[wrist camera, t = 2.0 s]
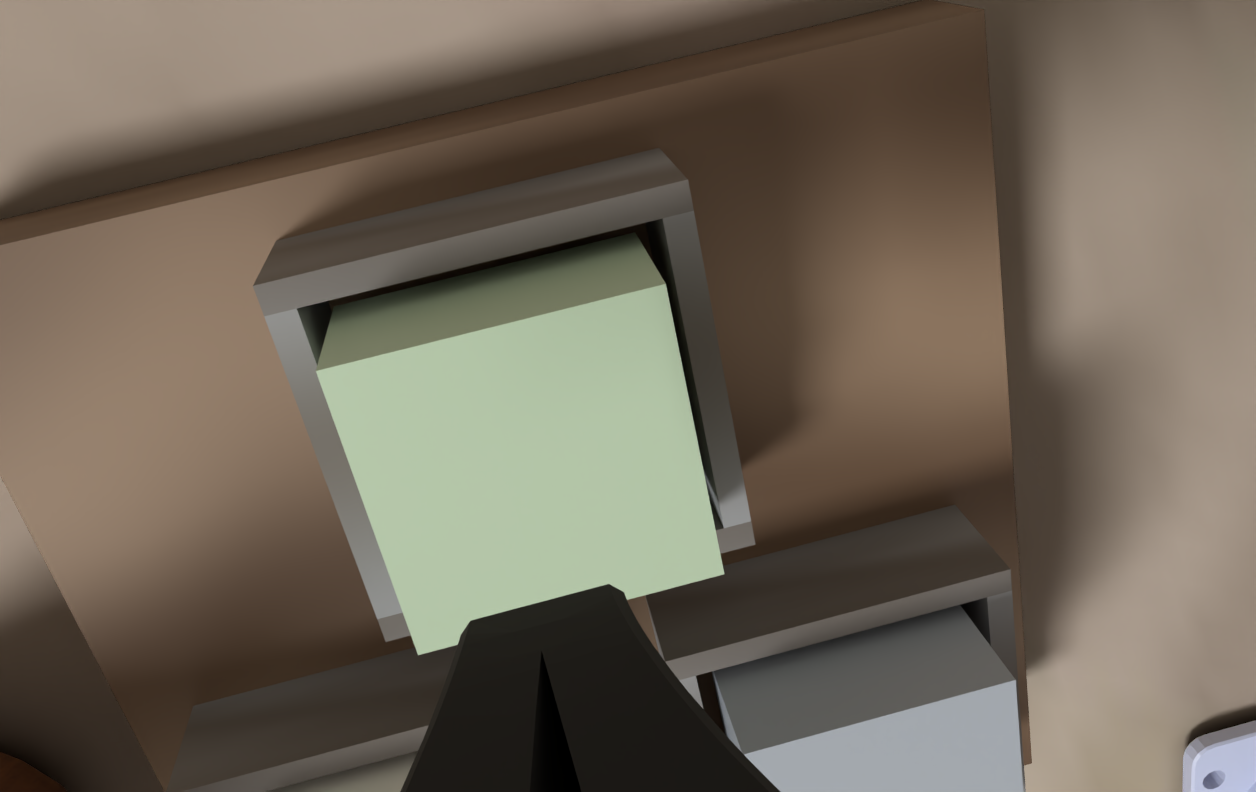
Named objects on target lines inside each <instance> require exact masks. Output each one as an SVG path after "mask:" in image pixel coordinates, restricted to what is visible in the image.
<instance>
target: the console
mask: <svg viewBox="0 0 1256 792" xmlns="http://www.w3.org/2000/svg"><path fill="white" fill-rule="evenodd" d="M634 232H635V233H636V235H637V236H638V238H639V240H640V241H641V243H642V245H643V246H644V248H645V250H646V251H647V253H648V255H649V256H650V258H651V260H652V262H653V263H654V265H655V267H656V268H657V270H658V272H659V273H660V275H661V277H662V278H663V280H664V282H665V283H666V287H667V292H668V297H669V302H670V307H671V312H672V317H673V322H674V327H675V332H676V337H677V342H678V347H679V352H680V357H681V362H682V367H683V372H684V376H685V381H686V386H687V391H688V396H689V401H690V406H691V411H692V416H693V421H694V426H695V431H696V436H697V441H698V446H699V451H700V456H701V461H702V466H703V470H704V475H705V480H706V485H707V490H708V495H709V500H710V505H711V510H712V515H713V520H714V525H715V530H716V535H717V540H718V545H719V550H720V555H721V559H722V564H723V569H724V574H723V575H720V576H716V577H712V578H708V579H704V580H701V581H697V582H693V583H689V584H686V585H682V586H678V587H674V588H670V589H667V590H663V591H659V592H655V593H652V594H648V595H644V596H640V597H636V598H633V599H629V600H627V601H628V604H629V606H630V608H631V610H632V612H633V613H634V615H635V617H636V619H637V621H638V622H639V624H640V626H641V627H642V629H643V631H644V632H645V634H646V635H647V637H648V638H649V640H650V641H651V643H652V644H653V646H654V647H655V649H656V650H657V651H658V653H659V654H660V655H661V657H662V658H663V660H664V661H665V662H666V664H667V665H668V666H669V668H670V669H671V671H672V672H673V673H674V674H675V676H676V677H677V678H678V679H679V681H680V682H681V683H682V685H683V686H684V687H685V688H686V690H687V691H688V692H689V693H690V694H691V695H692V697H693V698H694V699H695V700H696V701H697V702H698V704H699V705H700V706H701V707H702V708H703V709H704V711H705V712H706V713H707V714H708V715H709V716H710V717H711V719H712V720H713V721H714V722H715V723H716V724H717V726H718V727H719V728H720V729H721V730H722V731H723V733H724V734H725V731H724V727H723V722H722V718H721V713H720V708H719V704H718V699H717V695H716V690H715V686H714V681H713V676H712V671H715V670H719V669H723V668H727V667H730V666H734V665H738V664H741V663H745V662H749V661H753V660H756V659H760V658H764V657H767V656H771V655H775V654H779V653H782V652H786V651H790V650H793V649H797V648H801V647H805V646H808V645H812V644H816V643H819V642H823V641H827V640H831V639H834V638H838V637H842V636H845V635H849V634H853V633H857V632H860V631H864V630H868V629H871V628H875V627H879V626H882V625H886V624H890V623H894V622H897V621H901V620H905V619H908V618H912V617H916V616H920V615H923V614H927V613H931V612H934V611H938V610H942V609H946V608H949V607H953V606H957V605H960V606H961V607H962V608H963V610H964V611H965V612H966V614H967V615H968V616H969V618H970V619H971V620H972V622H973V623H974V624H975V626H976V627H977V628H978V630H979V631H980V633H981V634H982V635H983V637H984V638H985V639H986V641H987V642H988V643H989V645H990V646H991V647H992V649H993V650H994V651H995V653H996V654H997V655H998V657H999V658H1000V659H1001V661H1002V662H1003V663H1004V665H1005V666H1006V667H1007V669H1008V670H1009V672H1010V673H1011V674H1012V676H1013V677H1014V678H1015V680H1016V691H1017V706H1018V720H1019V735H1020V750H1021V764H1022V779H1023V792H1026V790H1025V776H1024V765H1027V764H1030V763H1032V758H1031V742H1030V726H1029V711H1028V695H1027V679H1026V663H1025V647H1024V631H1023V616H1022V600H1021V584H1020V568H1019V552H1018V536H1017V521H1016V505H1015V489H1014V473H1013V457H1012V441H1011V426H1010V410H1009V394H1008V378H1007V362H1006V346H1005V331H1004V315H1003V299H1002V283H1001V267H1000V251H999V235H998V220H997V204H996V188H995V172H994V156H993V140H992V125H991V109H990V93H989V77H988V61H987V45H986V30H985V14H984V9H978V8H973V7H967V6H962V5H956V4H951V3H945V2H940V1H934V0H921V1H917V2H913V3H909V4H904V5H900V6H896V7H892V8H888V9H883V10H879V11H875V12H871V13H867V14H863V15H858V16H854V17H850V18H846V19H842V20H837V21H833V22H829V23H825V24H821V25H816V26H812V27H808V28H804V29H800V30H795V31H791V32H787V33H783V34H779V35H774V36H770V37H766V38H762V39H758V40H753V41H749V42H745V43H741V44H737V45H732V46H728V47H724V48H720V49H716V50H712V51H707V52H703V53H699V54H695V55H691V56H686V57H682V58H678V59H674V60H670V61H665V62H661V63H657V64H653V65H649V66H644V67H640V68H636V69H632V70H628V71H623V72H619V73H615V74H611V75H607V76H602V77H598V78H594V79H590V80H586V81H581V82H577V83H573V84H569V85H565V86H561V87H556V88H552V89H548V90H544V91H540V92H535V93H531V94H527V95H523V96H519V97H514V98H510V99H506V100H502V101H498V102H493V103H489V104H485V105H481V106H477V107H472V108H468V109H464V110H460V111H456V112H451V113H447V114H443V115H439V116H435V117H430V118H426V119H422V120H418V121H414V122H410V123H405V124H401V125H397V126H393V127H389V128H384V129H380V130H376V131H372V132H368V133H363V134H359V135H355V136H351V137H347V138H342V139H338V140H334V141H330V142H326V143H321V144H317V145H313V146H309V147H305V148H300V149H296V150H292V151H288V152H284V153H279V154H275V155H271V156H267V157H263V158H259V159H254V160H250V161H246V162H242V163H238V164H233V165H229V166H225V167H221V168H217V169H212V170H208V171H204V172H200V173H196V174H191V175H187V176H183V177H179V178H175V179H170V180H166V181H162V182H158V183H154V184H149V185H145V186H141V187H137V188H133V189H128V190H124V191H120V192H116V193H112V194H108V195H103V196H99V197H95V198H91V199H87V200H82V201H78V202H74V203H70V204H66V205H61V206H57V207H53V208H49V209H45V210H40V211H36V212H32V213H28V214H24V215H19V216H15V217H11V218H7V219H3V220H0V476H1V478H2V480H3V482H4V484H5V486H6V488H7V490H8V491H9V493H10V495H11V497H12V499H13V501H14V503H15V505H16V507H17V509H18V511H19V513H20V515H21V517H22V518H23V520H24V522H25V524H26V526H27V528H28V530H29V532H30V534H31V536H32V538H33V540H34V542H35V543H36V545H37V547H38V549H39V551H40V553H41V555H42V557H43V559H44V561H45V563H46V565H47V567H48V569H49V570H50V572H51V574H52V576H53V578H54V580H55V582H56V584H57V586H58V588H59V590H60V592H61V594H62V595H63V597H64V599H65V601H66V603H67V605H68V607H69V609H70V611H71V613H72V615H73V617H74V619H75V621H76V622H77V624H78V626H79V628H80V630H81V632H82V634H83V636H84V638H85V640H86V642H87V644H88V646H89V648H90V649H91V651H92V653H93V655H94V657H95V659H96V661H97V663H98V665H99V667H100V669H101V671H102V673H103V674H104V676H105V678H106V680H107V682H108V684H109V686H110V688H111V690H112V692H113V694H114V696H115V698H116V700H117V701H118V703H119V705H120V707H121V709H122V711H123V713H124V715H125V717H126V719H127V721H128V723H129V725H130V726H131V728H132V730H133V732H134V734H135V736H136V738H137V740H138V742H139V744H140V746H141V748H142V750H143V752H144V753H145V755H146V757H147V759H148V761H149V763H150V765H151V767H152V769H153V771H154V773H155V775H156V777H157V779H158V780H159V782H160V784H161V786H162V788H163V790H164V792H266V791H270V790H274V789H277V788H281V787H285V786H289V785H292V784H296V783H300V782H303V781H307V780H311V779H315V778H318V777H322V776H326V775H329V774H333V773H337V772H341V771H344V770H348V769H352V768H355V767H359V766H363V765H367V764H370V763H374V762H378V761H381V760H385V759H389V758H393V757H396V756H400V755H404V754H407V753H411V752H415V751H418V750H419V748H420V745H421V743H422V741H423V738H424V736H425V733H426V731H427V728H428V726H429V723H430V721H431V718H432V716H433V713H434V710H435V708H436V705H437V703H438V700H439V697H440V695H441V692H442V689H443V687H444V684H445V681H446V678H447V675H448V673H449V670H450V667H451V664H452V661H453V658H454V655H455V652H456V649H457V646H458V645H455V646H451V647H448V648H444V649H440V650H436V651H432V652H429V653H425V654H421V655H418V654H417V651H416V648H415V645H414V642H413V640H412V637H411V634H410V631H409V629H408V626H407V623H406V620H405V618H404V615H403V612H402V609H401V606H400V604H399V601H398V598H397V595H396V593H395V590H394V587H393V584H392V581H391V579H390V576H389V573H388V570H387V568H386V565H385V562H384V559H383V556H382V554H381V551H380V548H379V545H378V543H377V540H376V537H375V534H374V531H373V529H372V526H371V523H370V520H369V518H368V515H367V512H366V509H365V506H364V504H363V501H362V498H361V495H360V493H359V490H358V487H357V484H356V481H355V479H354V476H353V473H352V470H351V468H350V465H349V462H348V459H347V456H346V454H345V451H344V448H343V445H342V443H341V440H340V437H339V434H338V432H337V429H336V426H335V423H334V420H333V418H332V415H331V412H330V409H329V407H328V404H327V401H326V398H325V395H324V393H323V390H322V387H321V384H320V382H319V379H318V376H317V373H316V368H317V365H318V361H319V358H320V354H321V351H322V347H323V344H324V340H325V336H326V333H327V329H328V326H329V322H330V319H331V315H332V312H333V308H334V306H338V305H342V304H346V303H350V302H354V301H358V300H362V299H366V298H371V297H375V296H379V295H383V294H387V293H391V292H395V291H399V290H403V289H407V288H411V287H415V286H419V285H423V284H427V283H431V282H435V281H439V280H444V279H448V278H452V277H456V276H460V275H464V274H468V273H472V272H476V271H480V270H484V269H488V268H492V267H496V266H500V265H504V264H508V263H512V262H517V261H521V260H525V259H529V258H533V257H537V256H541V255H545V254H549V253H553V252H557V251H561V250H565V249H569V248H573V247H577V246H581V245H585V244H590V243H594V242H598V241H602V240H606V239H610V238H614V237H618V236H622V235H626V234H630V233H634Z"/></svg>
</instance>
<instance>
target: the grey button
mask: <svg viewBox="0 0 1256 792" xmlns="http://www.w3.org/2000/svg"><path fill="white" fill-rule="evenodd" d="M712 676H713V681H714V686H715V690H716V695H717V699H718V704H719V708H720V713H721V718H722V722H723V727H724V731H725V735H726V736H727V737H728V738H729V739H730V740H731V741H732V742H733V743H734V745H735V746H736V747H737V748H738V749H739V750H740V751H741V752H742V753H743V754H744V755H745V756H746V757H747V758H748V759H749V761H750V762H751V763H752V764H753V765H754V766H755V767H756V768H757V769H758V770H759V771H760V772H761V773H762V774H763V775H764V776H765V777H766V778H767V779H768V780H769V781H770V782H771V783H772V784H773V785H774V786H775V787H776V788H777V789H778V790H779V791H780V792H1023V779H1022V764H1021V750H1020V735H1019V720H1018V706H1017V691H1016V680H1015V678H1014V677H1013V676H1012V674H1011V673H1010V672H1009V670H1008V669H1007V667H1006V666H1005V665H1004V663H1003V662H1002V661H1001V659H1000V658H999V657H998V655H997V654H996V653H995V651H994V650H993V649H992V647H991V646H990V645H989V643H988V642H987V641H986V639H985V638H984V637H983V635H982V634H981V633H980V631H979V630H978V628H977V627H976V626H975V624H974V623H973V622H972V620H971V619H970V618H969V616H968V615H967V614H966V612H965V611H964V610H963V608H962V607H961V606H960V605H957V606H953V607H949V608H946V609H942V610H938V611H934V612H931V613H927V614H923V615H920V616H916V617H912V618H908V619H905V620H901V621H897V622H894V623H890V624H886V625H882V626H879V627H875V628H871V629H868V630H864V631H860V632H857V633H853V634H849V635H845V636H842V637H838V638H834V639H831V640H827V641H823V642H819V643H816V644H812V645H808V646H805V647H801V648H797V649H793V650H790V651H786V652H782V653H779V654H775V655H771V656H767V657H764V658H760V659H756V660H753V661H749V662H745V663H741V664H738V665H734V666H730V667H727V668H723V669H719V670H715V671H712Z"/></svg>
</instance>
